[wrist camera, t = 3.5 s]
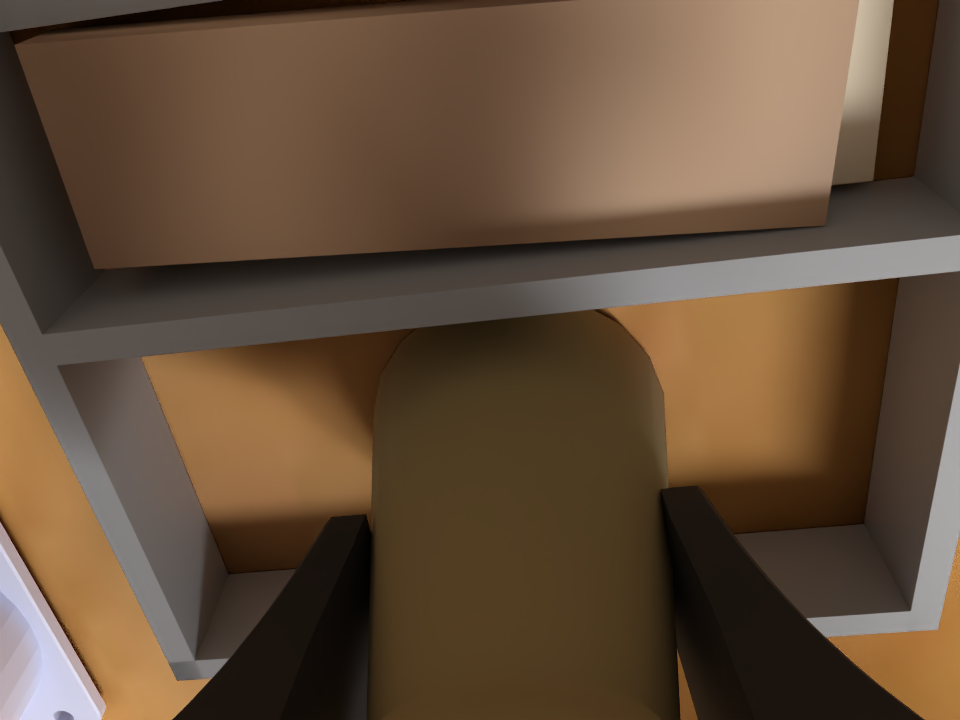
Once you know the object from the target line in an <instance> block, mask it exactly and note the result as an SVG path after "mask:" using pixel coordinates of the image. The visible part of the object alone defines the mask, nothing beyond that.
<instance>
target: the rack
mask: <svg viewBox="0 0 960 720" xmlns="http://www.w3.org/2000/svg"><path fill="white" fill-rule="evenodd" d="M214 1H221V0H0V324H1V326H2V328H3V330H4V332H5V334H6V336H7V338H8V340H9V342H10V344H11V346H12V348H13V350H14V352H15V354H16V356H17V358H18V360H19V362H20V364H21V366H22V368H23V370H24V372H25V374H26V376H27V378H28V380H29V382H30V384H31V386H32V388H33V390H34V392H35V394H36V396H37V398H38V400H39V402H40V404H41V406H42V408H43V410H44V412H45V414H46V417H47V419H48V421H49V423H50V425H51V427H52V429H53V431H54V433H55V435H56V437H57V439H58V441H59V443H60V445H61V447H62V449H63V451H64V453H65V455H66V457H67V459H68V461H69V463H70V465H71V467H72V469H73V471H74V473H75V475H76V477H77V479H78V481H79V483H80V485H81V487H82V489H83V491H84V493H85V495H86V497H87V499H88V501H89V503H90V505H91V507H92V509H93V511H94V514H95V516H96V518H97V520H98V522H99V524H100V526H101V528H102V530H103V532H104V534H105V536H106V538H107V540H108V542H109V544H110V546H111V548H112V550H113V552H114V554H115V556H116V558H117V560H118V562H119V564H120V566H121V568H122V570H123V572H124V574H125V576H126V578H127V580H128V582H129V584H130V586H131V588H132V590H133V592H134V594H135V596H136V598H137V600H138V602H139V604H140V606H141V608H142V611H143V613H144V615H145V617H146V619H147V621H148V623H149V625H150V627H151V629H152V631H153V633H154V635H155V637H156V639H157V641H158V643H159V645H160V647H161V649H162V651H163V653H164V655H165V657H166V659H167V661H168V663H169V665H170V667H171V669H172V671H173V673H174V675H175V677H176V679H177V681H180V680H195V679H210V678H213V677H214V675H215V674H216V673H217V672H218V671H219V670H220V669H221V667H222V666H223V665H224V664H225V663H226V662H227V660H228V659H229V658H230V657H231V656H232V655H233V653H234V652H235V651H236V650H237V648H238V647H239V646H240V644H241V643H242V642H243V641H244V639H245V638H246V637H247V636H248V634H249V633H250V632H251V631H252V629H253V628H254V627H255V626H256V624H257V623H258V622H259V620H260V619H261V618H262V617H263V615H264V614H265V613H266V611H267V610H268V608H269V607H270V606H271V604H272V603H273V601H274V600H275V599H276V597H277V596H278V594H279V593H280V592H281V590H282V589H283V587H284V586H285V585H286V583H287V582H288V580H289V579H290V578H291V576H292V575H293V573H294V572H295V570H296V569H289V570H276V571H264V572H251V573H238V574H228V572H227V570H226V567H225V565H224V562H223V560H222V557H221V555H220V552H219V550H218V547H217V545H216V542H215V540H214V537H213V535H212V532H211V530H210V527H209V525H208V523H207V520H206V518H205V515H204V513H203V510H202V508H201V505H200V503H199V500H198V498H197V495H196V493H195V490H194V488H193V485H192V483H191V480H190V478H189V476H188V473H187V471H186V468H185V466H184V463H183V461H182V458H181V456H180V453H179V451H178V448H177V446H176V443H175V441H174V438H173V436H172V433H171V431H170V429H169V426H168V424H167V421H166V419H165V416H164V414H163V411H162V409H161V406H160V404H159V401H158V399H157V396H156V394H155V391H154V389H153V386H152V384H151V382H150V379H149V377H148V374H147V372H146V369H145V367H144V364H143V362H142V359H141V357H143V356H153V355H163V354H172V353H182V352H191V351H201V350H210V349H220V348H229V347H239V346H248V345H258V344H268V343H277V342H287V341H296V340H306V339H315V338H325V337H334V336H344V335H353V334H363V333H373V332H382V331H392V330H401V329H411V328H420V327H430V326H439V325H449V324H459V323H468V322H478V321H487V320H497V319H506V318H516V317H525V316H535V315H544V314H554V313H564V312H573V311H583V310H592V309H602V308H611V307H621V306H630V305H640V304H649V303H659V302H669V301H678V300H688V299H697V298H707V297H716V296H726V295H735V294H745V293H754V292H764V291H774V290H783V289H793V288H802V287H812V286H821V285H831V284H840V283H850V282H859V281H869V280H879V279H888V278H898V277H899V284H898V291H897V298H896V305H895V312H894V319H893V326H892V333H891V340H890V346H889V353H888V360H887V367H886V374H885V381H884V388H883V395H882V402H881V409H880V416H879V423H878V430H877V437H876V444H875V451H874V458H873V465H872V471H871V478H870V485H869V492H868V499H867V506H866V513H865V520H864V524H859V525H847V526H834V527H821V528H809V529H796V530H783V531H771V532H758V533H745V534H734V535H735V537H736V538H737V539H738V541H739V542H740V543H741V544H742V546H743V547H744V548H745V549H746V551H747V552H748V553H749V554H750V556H751V557H752V558H753V559H754V560H755V562H756V563H757V564H758V565H759V566H760V568H761V569H762V570H763V571H764V572H765V574H766V575H767V576H768V577H769V578H770V579H771V581H772V582H773V583H774V584H775V585H776V586H777V587H778V589H779V590H780V591H781V592H782V593H783V594H784V595H785V596H786V597H787V598H788V600H789V601H790V602H791V603H792V604H793V605H794V606H795V607H796V608H797V609H798V610H799V611H800V612H801V613H802V614H803V615H804V616H805V617H806V618H807V619H808V620H809V621H810V622H811V623H812V624H813V625H814V626H815V627H816V628H817V630H819V631H820V632H821V633H822V634H823V635H824V636H825V637H835V636H850V635H865V634H880V633H895V632H910V631H924V630H938V626H939V622H940V617H941V613H942V609H943V604H944V600H945V595H946V591H947V586H948V582H949V578H950V573H951V569H952V564H953V560H954V555H955V551H956V547H957V542H958V538H959V533H960V0H939V6H938V13H937V20H936V27H935V34H934V41H933V48H932V55H931V62H930V69H929V76H928V83H927V90H926V96H925V103H924V110H923V117H922V124H921V131H920V138H919V145H918V152H917V159H916V166H915V173H914V177H906V178H897V179H888V180H880V181H871V182H862V183H854V184H845V185H836V186H831V191H830V198H829V204H828V211H827V217H826V224H825V225H824V226H807V227H791V228H774V229H758V230H741V231H724V232H708V233H691V234H674V235H658V236H641V237H625V238H608V239H591V240H575V241H558V242H541V243H525V244H508V245H491V246H475V247H458V248H442V249H425V250H408V251H392V252H375V253H358V254H342V255H325V256H309V257H292V258H275V259H259V260H242V261H225V262H209V263H192V264H176V265H159V266H142V267H126V268H116V269H108V270H105V269H94V267H93V264H92V261H91V258H90V255H89V253H88V250H87V247H86V244H85V241H84V239H83V236H82V233H81V230H80V227H79V225H78V222H77V219H76V216H75V213H74V211H73V208H72V205H71V202H70V199H69V197H68V194H67V191H66V188H65V185H64V183H63V180H62V177H61V174H60V171H59V169H58V166H57V163H56V160H55V157H54V155H53V152H52V149H51V146H50V144H49V141H48V138H47V135H46V132H45V130H44V127H43V124H42V121H41V118H40V116H39V113H38V110H37V107H36V104H35V102H34V99H33V96H32V93H31V90H30V88H29V85H28V82H27V79H26V76H25V74H24V71H23V68H22V65H21V62H20V60H19V57H18V54H17V51H16V48H15V46H14V43H13V40H12V38H11V35H10V33H9V31H13V30H20V29H27V28H34V27H41V26H48V25H55V24H62V23H69V22H76V21H83V20H89V19H96V18H103V17H110V16H117V15H124V14H131V13H138V12H145V11H152V10H159V9H166V8H173V7H179V6H186V5H193V4H200V3H207V2H214Z"/></svg>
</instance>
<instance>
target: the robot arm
mask: <svg viewBox="0 0 960 720" xmlns="http://www.w3.org/2000/svg"><path fill="white" fill-rule="evenodd" d="M660 497H661V503H662V509H663V515H664V521H665V527H666V533H667V538H668V544H669V550H670V556H671V562H672V567H673V584H674V604H675V623H676V643H677V650H678V653H679V657H680V660H681V663H682V667H683V670H684V673H685V677H686V680H687V683H688V687H689V690H690V693H691V697H692V700H693V703H694V707H695V710H696V713H697V717H698V720H924V719H923V718H922V717H920V716H919V715H918V714H916V713H915V712H914V711H912V710H911V709H910V708H908V707H907V706H906V705H905V704H903V703H902V702H901V701H899V700H898V699H897V698H895V697H894V696H893V695H891V694H890V693H889V692H888V691H886V690H885V689H884V688H882V687H881V686H880V685H879V684H878V683H876V682H875V681H874V680H873V679H872V678H871V677H869V676H868V675H867V674H866V673H865V672H864V671H862V670H861V669H860V668H859V667H858V666H856V665H855V664H854V663H853V662H852V661H851V660H850V659H849V658H847V657H846V656H845V655H844V654H843V653H842V652H841V651H840V650H839V649H838V648H836V647H835V646H834V645H833V644H832V643H831V642H830V641H829V640H828V639H827V638H826V637H825V636H824V635H823V634H822V633H821V632H820V631H819V630H817V628H816V627H815V626H814V625H813V624H812V623H811V622H810V621H809V620H808V619H807V618H806V617H805V616H804V615H803V614H802V613H801V612H800V611H799V610H798V609H797V608H796V607H795V606H794V605H793V604H792V603H791V602H790V601H789V600H788V598H787V597H786V596H785V595H784V594H783V593H782V592H781V591H780V590H779V589H778V587H777V586H776V585H775V584H774V583H773V582H772V581H771V579H770V578H769V577H768V576H767V575H766V574H765V572H764V571H763V570H762V569H761V568H760V566H759V565H758V564H757V563H756V562H755V560H754V559H753V558H752V557H751V556H750V554H749V553H748V552H747V551H746V549H745V548H744V547H743V546H742V544H741V543H740V542H739V541H738V539H737V538H736V537H735V535H734V534H733V533H732V531H731V530H730V529H729V527H728V526H727V524H726V523H725V522H724V520H723V519H722V518H721V516H720V515H719V513H718V512H717V510H716V509H715V507H714V506H713V504H712V503H711V501H710V500H709V498H708V497H707V495H706V493H705V492H704V490H702V489H701V488H700V487H698V486H689V487H677V488H666V489H660ZM370 548H371V531H370V527H369V523H368V520H367V516H366V514H364V515H352V516H340V517H331V519H330V520H329V521H328V522H327V523H326V525H325V526H324V528H323V529H322V531H321V532H320V534H319V535H318V537H317V539H316V540H315V542H314V543H313V545H312V546H311V548H310V549H309V551H308V552H307V554H306V555H305V557H304V558H303V560H302V561H301V563H300V564H299V566H298V567H297V569H296V570H295V572H294V573H293V575H292V576H291V578H290V579H289V580H288V582H287V583H286V585H285V586H284V587H283V589H282V590H281V592H280V593H279V594H278V596H277V597H276V599H275V600H274V601H273V603H272V604H271V606H270V607H269V608H268V610H267V611H266V613H265V614H264V615H263V617H262V618H261V619H260V620H259V622H258V623H257V624H256V626H255V627H254V628H253V629H252V631H251V632H250V633H249V634H248V636H247V637H246V638H245V639H244V641H243V642H242V643H241V644H240V646H239V647H238V648H237V650H236V651H235V652H234V653H233V655H232V656H231V657H230V658H229V659H228V660H227V662H226V663H225V664H224V665H223V666H222V667H221V669H220V670H219V671H218V672H217V673H216V674H215V675H214V677H213V678H212V679H211V680H210V681H209V682H208V683H207V684H206V685H205V686H204V688H203V689H202V690H201V691H200V692H199V693H198V694H197V695H196V696H195V697H194V698H193V699H192V700H191V702H190V703H189V704H188V705H187V706H186V707H185V708H184V709H183V710H182V711H181V712H180V713H179V714H178V715H177V716H176V717H175V718H174V719H172V720H367V680H368V636H369V592H370ZM105 709H106V706H105V703H104V701H103V699H102V697H101V696H100V694H99V692H98V690H97V689H96V687H95V685H94V684H93V682H92V680H91V678H90V677H89V675H88V673H87V671H86V670H85V668H84V666H83V664H82V663H81V661H80V659H79V658H78V656H77V654H76V652H75V651H74V649H73V647H72V645H71V644H70V642H69V640H68V638H67V637H66V635H65V633H64V632H63V630H62V628H61V626H60V625H59V623H58V621H57V619H56V618H55V616H54V614H53V612H52V611H51V609H50V607H49V606H48V604H47V602H46V600H45V599H44V597H43V595H42V593H41V592H40V590H39V588H38V586H37V585H36V583H35V581H34V580H33V578H32V576H31V574H30V573H29V571H28V569H27V567H26V566H25V564H24V562H23V560H22V559H21V557H20V555H19V554H18V552H17V550H16V548H15V547H14V545H13V543H12V541H11V540H10V538H9V536H8V534H7V533H6V531H5V529H4V528H3V526H2V524H1V522H0V720H101V718H102V716H103V714H104V712H105Z"/></svg>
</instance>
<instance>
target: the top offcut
mask: <svg viewBox="0 0 960 720" xmlns="http://www.w3.org/2000/svg"><path fill="white" fill-rule="evenodd" d="M858 6H859V0H414V1H401V2H389V3H376V4H364V5H352V6H339V7H327V8H315V9H302V10H290V11H277V12H265V13H253V14H240V15H228V16H216V17H203V18H191V19H178V20H166V21H154V22H141V23H129V24H116V25H104V26H92V27H79V28H67V29H55V30H51V31H48V32H46V33H43V34H41V35H38V36H36V37H33V38H31V39H28V40H26V41H23V42H21V43H18V44H16V45H14V46H15V48H16V51H17V54H18V57H19V60H20V62H21V65H22V68H23V71H24V74H25V76H26V79H27V82H28V85H29V88H30V90H31V93H32V96H33V99H34V102H35V104H36V107H37V110H38V113H39V116H40V118H41V121H42V124H43V127H44V130H45V132H46V135H47V138H48V141H49V144H50V146H51V149H52V152H53V155H54V157H55V160H56V163H57V166H58V169H59V171H60V174H61V177H62V180H63V183H64V185H65V188H66V191H67V194H68V197H69V199H70V202H71V205H72V208H73V211H74V213H75V216H76V219H77V222H78V225H79V227H80V230H81V233H82V236H83V239H84V241H85V244H86V247H87V250H88V253H89V255H90V258H91V261H92V264H93V267H94V269H109V268H126V267H142V266H159V265H176V264H192V263H209V262H225V261H242V260H259V259H275V258H292V257H309V256H325V255H342V254H358V253H375V252H392V251H408V250H425V249H442V248H458V247H475V246H491V245H508V244H525V243H541V242H558V241H575V240H591V239H608V238H625V237H641V236H658V235H674V234H691V233H708V232H724V231H741V230H758V229H774V228H791V227H807V226H824V225H825V224H826V217H827V211H828V204H829V198H830V191H831V184H832V178H833V171H834V165H835V158H836V151H837V145H838V138H839V132H840V125H841V118H842V112H843V105H844V99H845V92H846V85H847V79H848V72H849V66H850V59H851V52H852V46H853V39H854V33H855V26H856V19H857V13H858Z"/></svg>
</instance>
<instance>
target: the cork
mask: <svg viewBox="0 0 960 720" xmlns="http://www.w3.org/2000/svg"><path fill="white" fill-rule="evenodd" d="M666 488H669V486H668V466H667V447H666V427H665V408H664V392H663V390H662V387H661V385H660V382H659V380H658V377H657V375H656V372H655V370H654V367H653V364H652V362H651V359H650V357H649V355H648V354H647V353H646V352H645V351H644V350H643V349H642V348H641V347H640V346H639V344H638V343H637V342H636V341H635V340H634V339H633V338H632V337H631V336H630V335H629V333H628V332H627V331H626V330H625V329H624V328H623V327H622V326H621V325H620V324H618V323H617V322H615V321H613V320H611V319H609V318H608V317H606V316H604V315H602V314H600V313H598V312H597V311H595V310H593V309H592V310H583V311H573V312H564V313H554V314H544V315H535V316H525V317H516V318H506V319H497V320H487V321H478V322H468V323H459V324H449V325H439V326H430V327H420V328H417V329H416V330H414V331H413V332H412V333H411V334H409V335H408V336H407V337H406V338H404V339H403V340H402V341H401V343H400V344H399V346H398V347H397V349H396V351H395V352H394V354H393V355H392V357H391V359H390V360H389V362H388V364H387V365H386V367H385V368H384V370H383V372H382V373H381V375H380V380H379V385H378V391H377V396H376V402H375V407H374V416H373V460H372V504H371V548H370V592H369V636H368V680H367V720H680V701H679V682H678V662H677V643H676V623H675V604H674V584H673V567H672V562H671V556H670V550H669V544H668V538H667V533H666V527H665V521H664V515H663V509H662V503H661V497H660V489H666Z"/></svg>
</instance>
